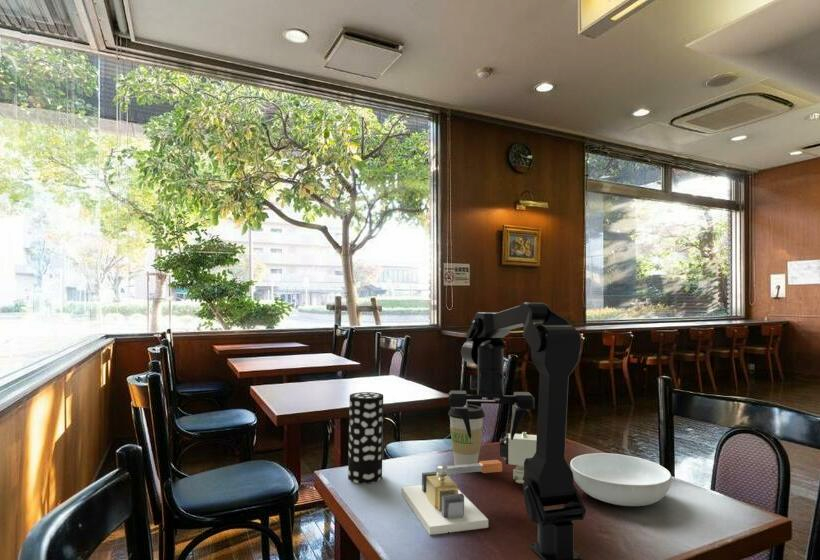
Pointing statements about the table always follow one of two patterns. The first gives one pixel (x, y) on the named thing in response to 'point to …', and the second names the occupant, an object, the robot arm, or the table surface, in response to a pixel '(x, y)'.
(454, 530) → the base plate
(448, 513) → the valve pipe run
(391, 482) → the table surface
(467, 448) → the coffee cup
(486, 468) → the valve lever
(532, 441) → the pneumatic valve
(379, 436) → the spotted tube
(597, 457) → the serving bowl
